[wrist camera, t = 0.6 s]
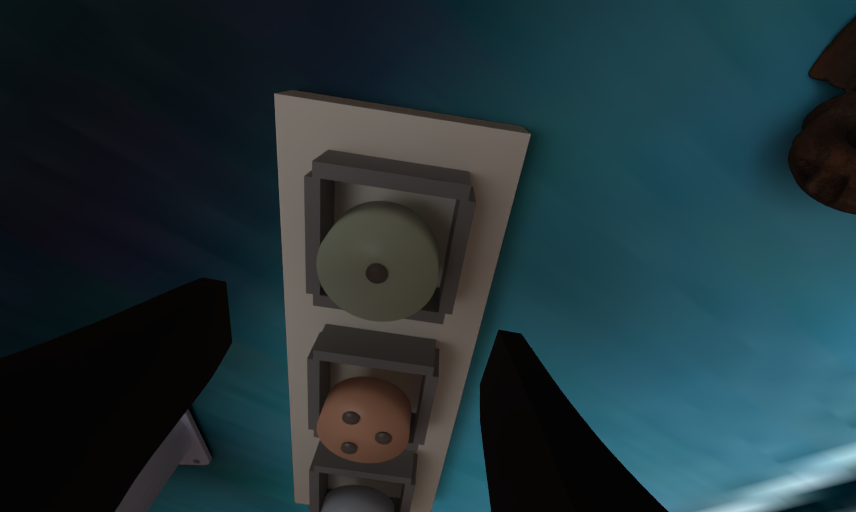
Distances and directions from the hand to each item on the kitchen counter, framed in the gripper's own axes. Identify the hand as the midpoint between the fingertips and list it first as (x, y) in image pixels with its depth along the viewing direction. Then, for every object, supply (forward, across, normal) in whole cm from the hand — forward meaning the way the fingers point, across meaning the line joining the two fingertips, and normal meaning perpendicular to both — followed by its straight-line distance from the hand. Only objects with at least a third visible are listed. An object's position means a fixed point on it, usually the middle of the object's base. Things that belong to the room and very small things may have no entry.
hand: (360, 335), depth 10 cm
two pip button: (+5, 0, +18) cm, 19 cm away
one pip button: (+5, 0, 0) cm, 5 cm away
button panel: (+9, 0, +9) cm, 13 cm away
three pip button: (+5, 0, +9) cm, 11 cm away
